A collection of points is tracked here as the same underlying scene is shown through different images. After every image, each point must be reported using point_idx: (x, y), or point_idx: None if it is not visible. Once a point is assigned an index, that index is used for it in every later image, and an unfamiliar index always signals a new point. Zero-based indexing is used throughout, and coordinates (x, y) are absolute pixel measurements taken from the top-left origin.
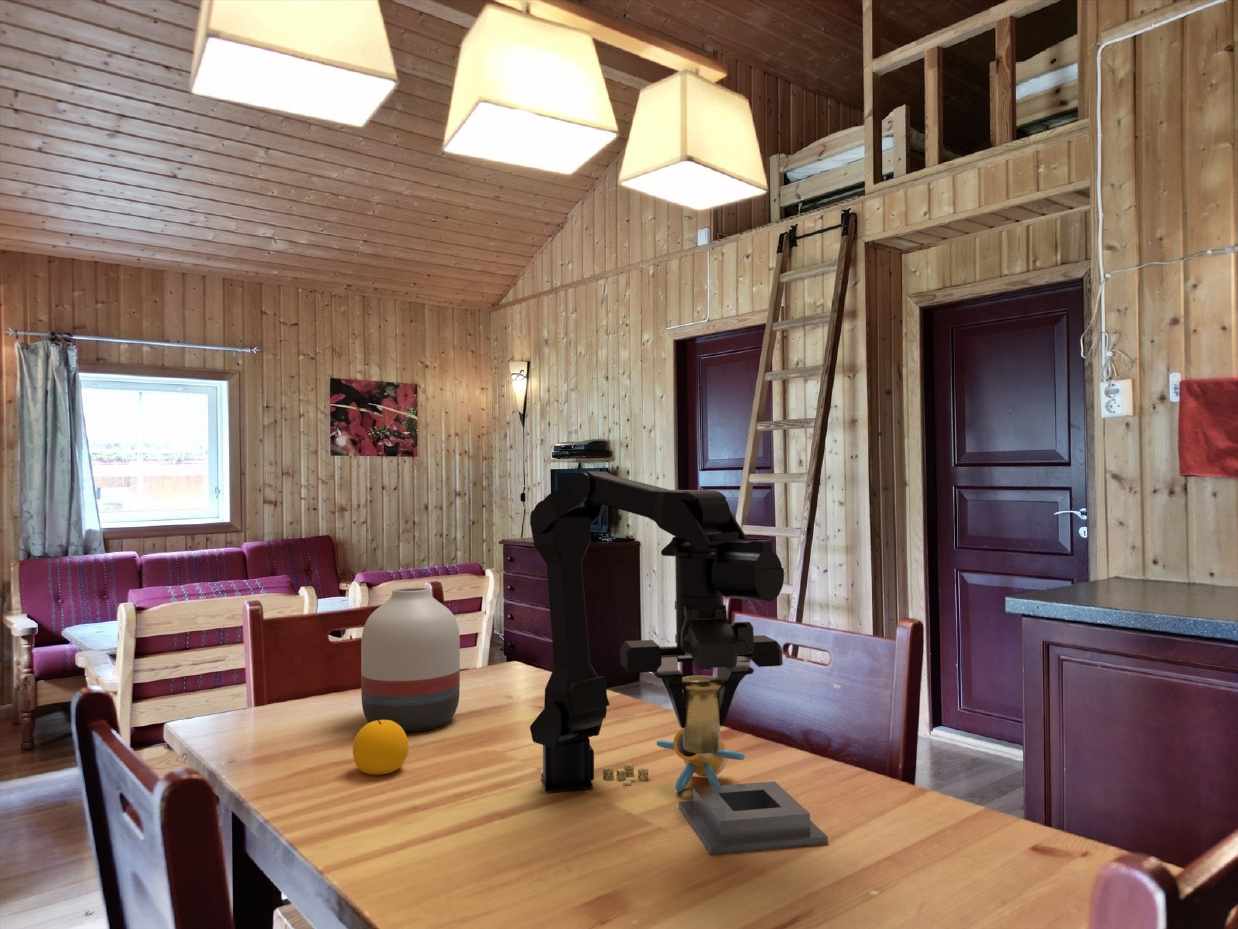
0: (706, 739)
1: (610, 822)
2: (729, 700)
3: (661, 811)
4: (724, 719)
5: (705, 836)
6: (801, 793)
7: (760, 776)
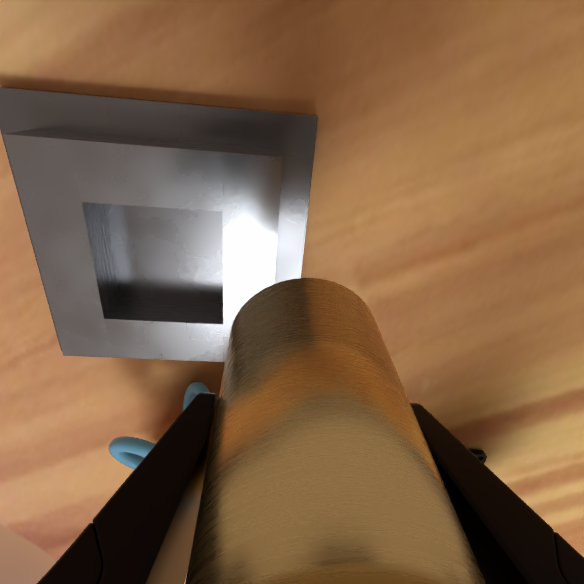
0: (320, 310)
1: (441, 326)
2: (119, 513)
3: None
4: (189, 412)
5: (305, 184)
6: (16, 361)
7: (87, 441)
